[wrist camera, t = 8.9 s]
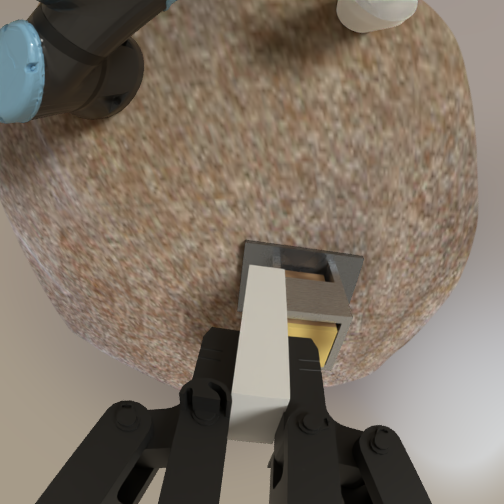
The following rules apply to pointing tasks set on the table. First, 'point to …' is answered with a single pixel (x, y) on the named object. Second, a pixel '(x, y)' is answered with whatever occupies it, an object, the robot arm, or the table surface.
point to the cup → (374, 13)
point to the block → (313, 323)
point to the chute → (310, 284)
